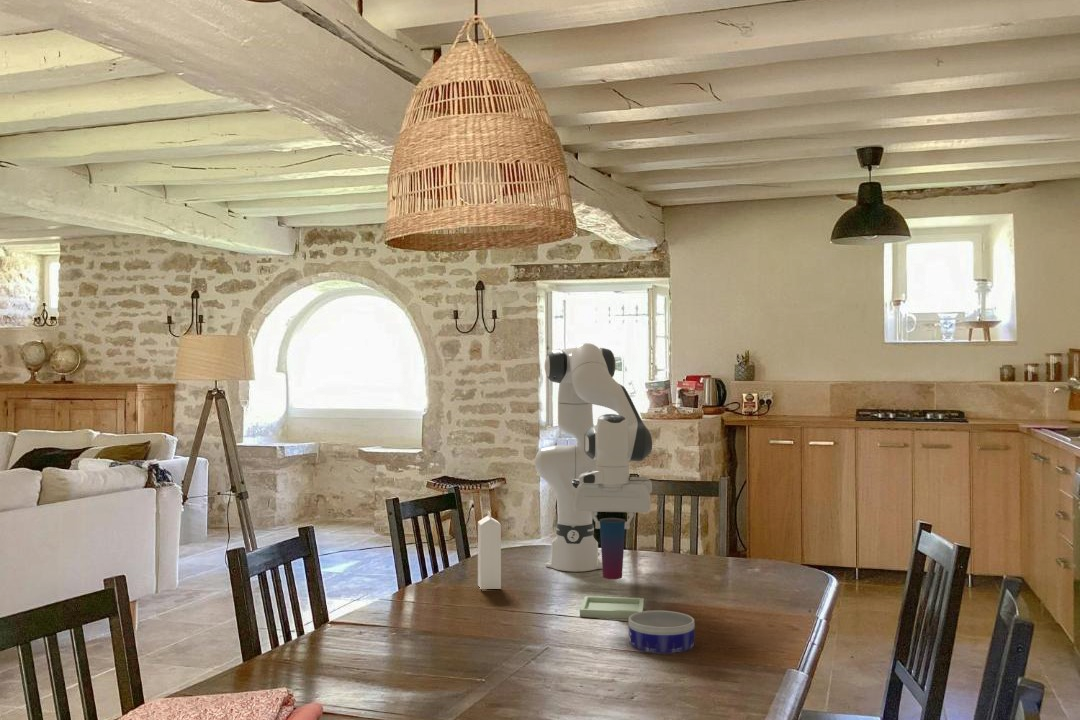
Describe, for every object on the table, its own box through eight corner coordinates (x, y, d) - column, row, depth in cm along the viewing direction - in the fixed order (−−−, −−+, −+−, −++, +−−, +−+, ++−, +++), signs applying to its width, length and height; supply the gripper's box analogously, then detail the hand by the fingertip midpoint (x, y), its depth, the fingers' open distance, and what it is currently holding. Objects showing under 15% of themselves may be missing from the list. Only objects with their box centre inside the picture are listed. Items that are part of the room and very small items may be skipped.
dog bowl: (617, 638, 219) (617, 613, 219) (674, 632, 225) (674, 607, 225) (646, 657, 205) (646, 630, 205) (707, 650, 210) (707, 623, 210)
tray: (584, 602, 251) (584, 596, 251) (643, 604, 249) (643, 598, 249) (579, 616, 237) (579, 609, 237) (642, 619, 235) (642, 611, 235)
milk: (480, 590, 265) (480, 514, 265) (477, 585, 271) (477, 510, 271) (501, 589, 266) (501, 513, 266) (498, 584, 272) (497, 509, 272)
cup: (623, 580, 239) (623, 522, 239) (597, 579, 241) (597, 521, 241) (627, 575, 246) (627, 518, 246) (601, 573, 247) (601, 517, 248)
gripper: (652, 475, 245) (652, 527, 245) (575, 474, 248) (575, 525, 248) (651, 478, 239) (651, 531, 239) (573, 477, 242) (573, 529, 242)
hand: (612, 528), depth 243 cm, fingers closed on cup, 6 cm apart
